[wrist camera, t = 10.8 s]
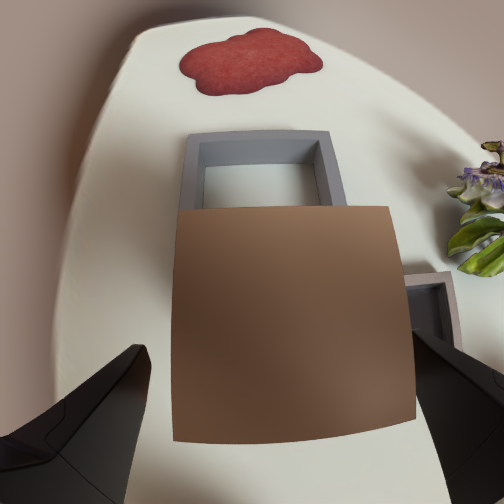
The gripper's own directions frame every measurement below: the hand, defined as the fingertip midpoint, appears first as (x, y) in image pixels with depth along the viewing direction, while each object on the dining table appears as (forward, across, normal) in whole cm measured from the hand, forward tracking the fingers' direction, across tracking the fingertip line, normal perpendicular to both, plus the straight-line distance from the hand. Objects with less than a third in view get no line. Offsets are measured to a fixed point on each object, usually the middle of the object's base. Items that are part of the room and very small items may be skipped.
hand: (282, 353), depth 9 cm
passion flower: (+13, -21, +1) cm, 25 cm away
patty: (+31, 0, -16) cm, 35 cm away
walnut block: (+7, 0, +6) cm, 9 cm away
